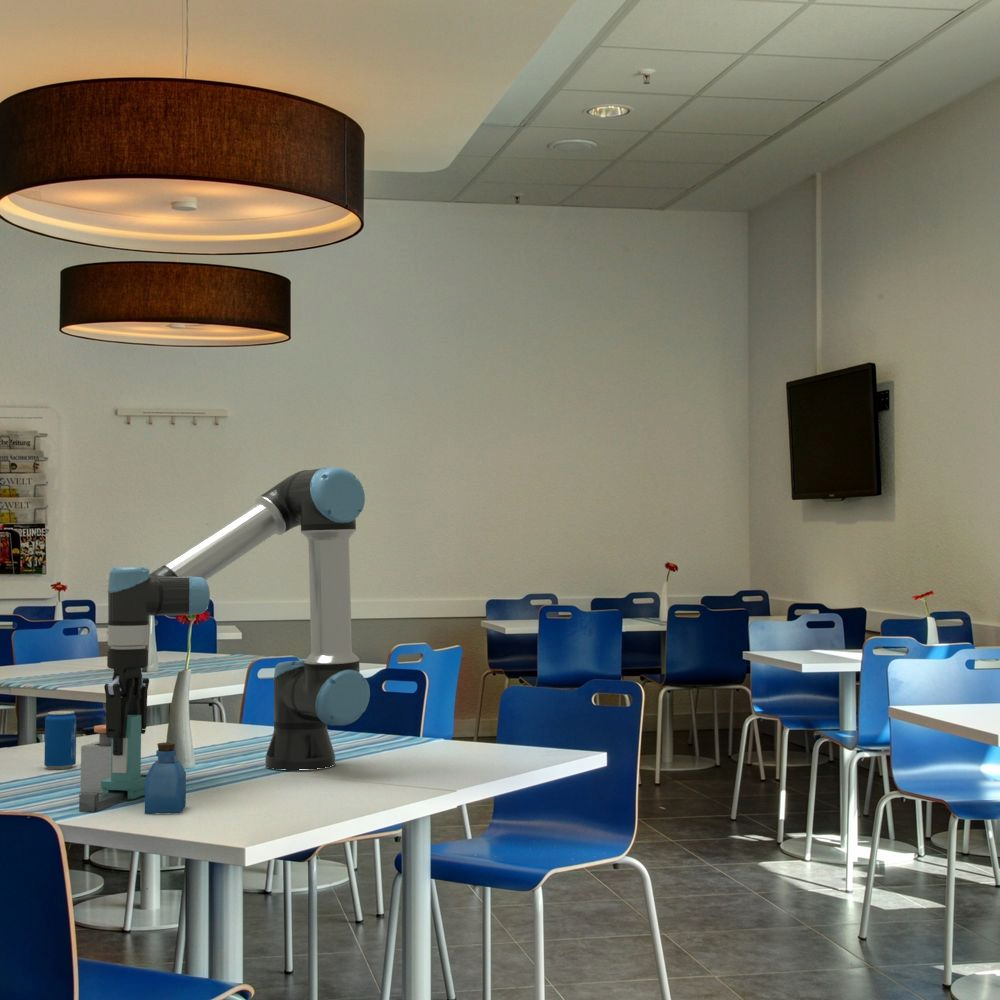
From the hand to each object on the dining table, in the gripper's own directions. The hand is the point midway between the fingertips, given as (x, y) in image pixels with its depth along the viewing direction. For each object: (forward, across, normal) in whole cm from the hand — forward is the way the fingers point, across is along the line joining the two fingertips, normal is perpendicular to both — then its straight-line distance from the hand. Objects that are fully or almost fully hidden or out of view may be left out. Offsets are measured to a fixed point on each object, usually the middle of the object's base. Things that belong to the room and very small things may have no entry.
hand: (125, 770), depth 248 cm
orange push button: (-1, -6, -8) cm, 10 cm away
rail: (+5, +2, 0) cm, 6 cm away
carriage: (+5, 0, 0) cm, 5 cm away
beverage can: (+5, -30, -31) cm, 43 cm away
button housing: (+5, -6, -8) cm, 11 cm away
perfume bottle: (+5, +10, +13) cm, 17 cm away
